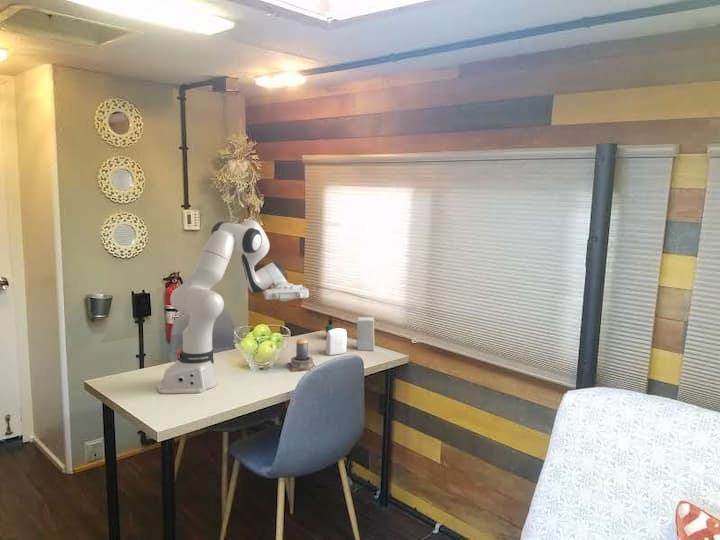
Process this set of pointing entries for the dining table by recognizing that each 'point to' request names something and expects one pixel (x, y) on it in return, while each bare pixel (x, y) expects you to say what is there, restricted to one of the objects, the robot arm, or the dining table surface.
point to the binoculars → (329, 326)
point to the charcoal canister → (302, 350)
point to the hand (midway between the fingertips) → (289, 296)
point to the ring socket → (301, 364)
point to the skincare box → (365, 333)
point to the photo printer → (336, 341)
